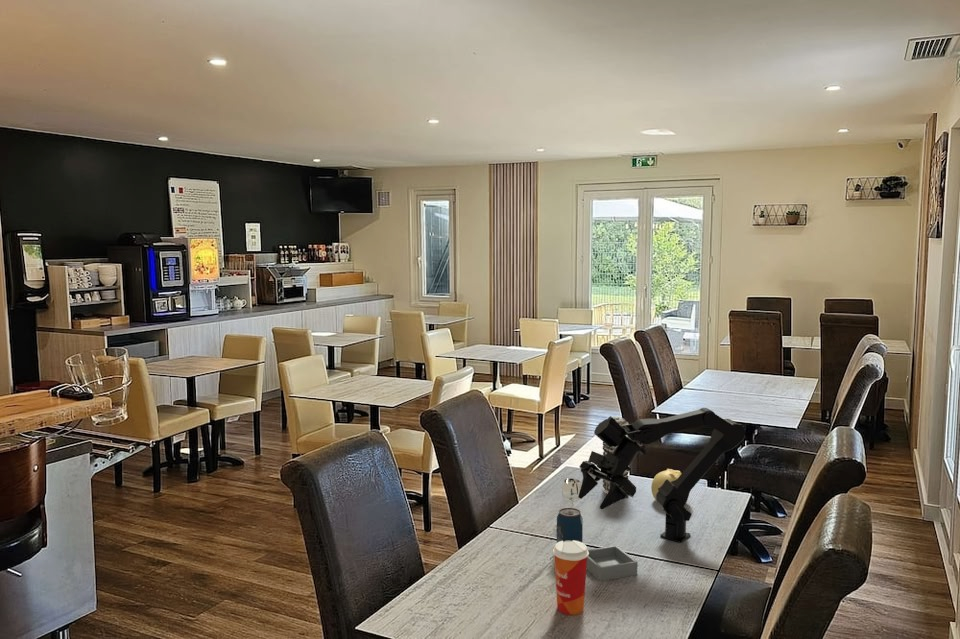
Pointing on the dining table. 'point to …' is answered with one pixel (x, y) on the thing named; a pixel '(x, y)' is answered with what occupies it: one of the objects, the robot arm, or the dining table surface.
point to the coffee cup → (570, 576)
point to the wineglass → (571, 490)
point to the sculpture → (663, 479)
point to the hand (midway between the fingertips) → (589, 503)
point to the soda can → (569, 525)
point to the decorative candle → (610, 450)
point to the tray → (610, 563)
